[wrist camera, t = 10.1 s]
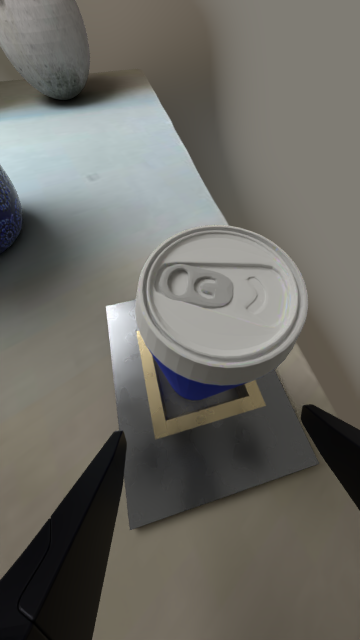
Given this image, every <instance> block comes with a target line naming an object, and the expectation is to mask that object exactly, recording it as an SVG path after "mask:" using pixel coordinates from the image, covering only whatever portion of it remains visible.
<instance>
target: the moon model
mask: <svg viewBox="0 0 360 640" xmlns="http://www.w3.org/2000/svg"><path fill="white" fill-rule="evenodd" d="M0 46H1V48H2V50H3V51H4V53H5V54H6V56H7V57H8V59H9V60H10V62H11V63H12V64H13V66H14V67H15V69H16V70H17V71H18V72H19V73H20V74H21V76H22V77H23V78H24V79H25V80H26V81H27V82H28V83H30V84H31V85H32V86H33V87H34V88H36V89H37V90H39V91H40V92H41V93H43V94H45V95H47V96H49V97H52V98H55V99H60V100H67V99H71V98H73V97H75V96H77V95H78V94H79V93H80V92H81V91H82V89H83V88H84V86H85V84H86V81H87V78H88V74H89V66H90V53H89V44H88V38H87V33H86V29H85V26H84V22H83V19H82V16H81V14H80V11H79V8H78V6H77V3H76V1H75V0H0Z"/></svg>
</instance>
